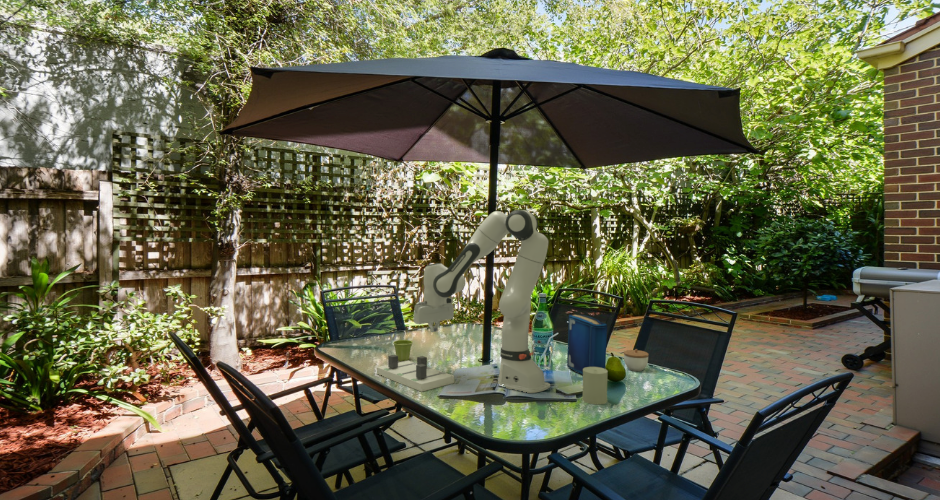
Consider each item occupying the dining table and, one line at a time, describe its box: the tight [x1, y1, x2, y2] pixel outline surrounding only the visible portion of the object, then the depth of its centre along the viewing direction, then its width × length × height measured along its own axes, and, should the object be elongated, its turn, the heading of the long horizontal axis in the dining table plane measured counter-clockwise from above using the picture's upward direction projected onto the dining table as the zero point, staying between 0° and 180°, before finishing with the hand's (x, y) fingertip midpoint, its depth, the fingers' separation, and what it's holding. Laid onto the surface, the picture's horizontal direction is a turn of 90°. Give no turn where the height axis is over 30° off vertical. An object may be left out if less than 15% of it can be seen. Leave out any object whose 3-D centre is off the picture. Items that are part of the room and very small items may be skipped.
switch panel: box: [376, 360, 455, 393], centre depth 218 cm, size 32×17×3 cm, turn 43°
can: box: [581, 367, 609, 405], centre depth 192 cm, size 9×9×12 cm
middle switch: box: [416, 355, 428, 366], centre depth 220 cm, size 3×3×5 cm
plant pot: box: [392, 339, 413, 362], centre depth 248 cm, size 9×9×9 cm
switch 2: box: [416, 364, 428, 379], centre depth 208 cm, size 3×3×5 cm
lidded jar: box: [623, 348, 649, 372], centre depth 234 cm, size 11×11×9 cm
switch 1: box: [387, 354, 399, 369], centre depth 222 cm, size 3×3×5 cm
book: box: [566, 314, 608, 376], centre depth 226 cm, size 22×7×25 cm, turn 22°
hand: (434, 331), depth 224 cm, fingers closed
